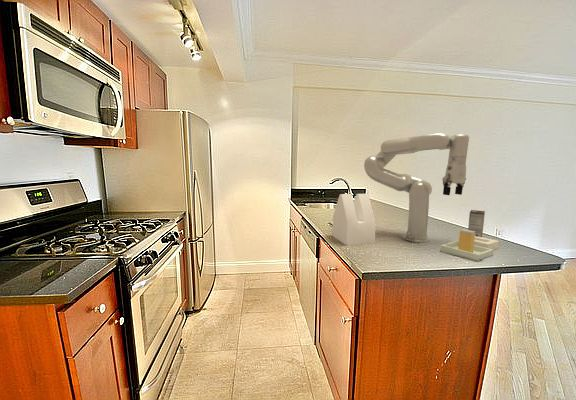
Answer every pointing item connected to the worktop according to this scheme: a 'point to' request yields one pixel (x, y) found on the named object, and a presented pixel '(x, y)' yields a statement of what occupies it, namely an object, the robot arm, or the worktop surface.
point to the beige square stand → (486, 243)
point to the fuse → (466, 240)
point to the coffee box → (476, 222)
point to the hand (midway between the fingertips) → (452, 194)
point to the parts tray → (475, 256)
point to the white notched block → (354, 220)
